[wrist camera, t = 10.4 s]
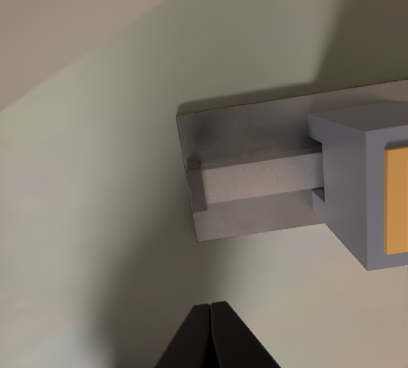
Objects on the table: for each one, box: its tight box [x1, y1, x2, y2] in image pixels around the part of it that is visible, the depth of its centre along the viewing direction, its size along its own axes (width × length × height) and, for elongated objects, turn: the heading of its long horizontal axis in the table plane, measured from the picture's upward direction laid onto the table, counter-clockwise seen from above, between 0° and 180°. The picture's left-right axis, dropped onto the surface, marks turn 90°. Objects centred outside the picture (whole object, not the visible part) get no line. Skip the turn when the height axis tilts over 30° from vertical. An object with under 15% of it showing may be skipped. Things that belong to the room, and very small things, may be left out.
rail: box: [176, 79, 408, 242], centre depth 19 cm, size 8×20×3 cm, turn 99°
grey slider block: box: [307, 100, 408, 271], centre depth 17 cm, size 6×5×7 cm
